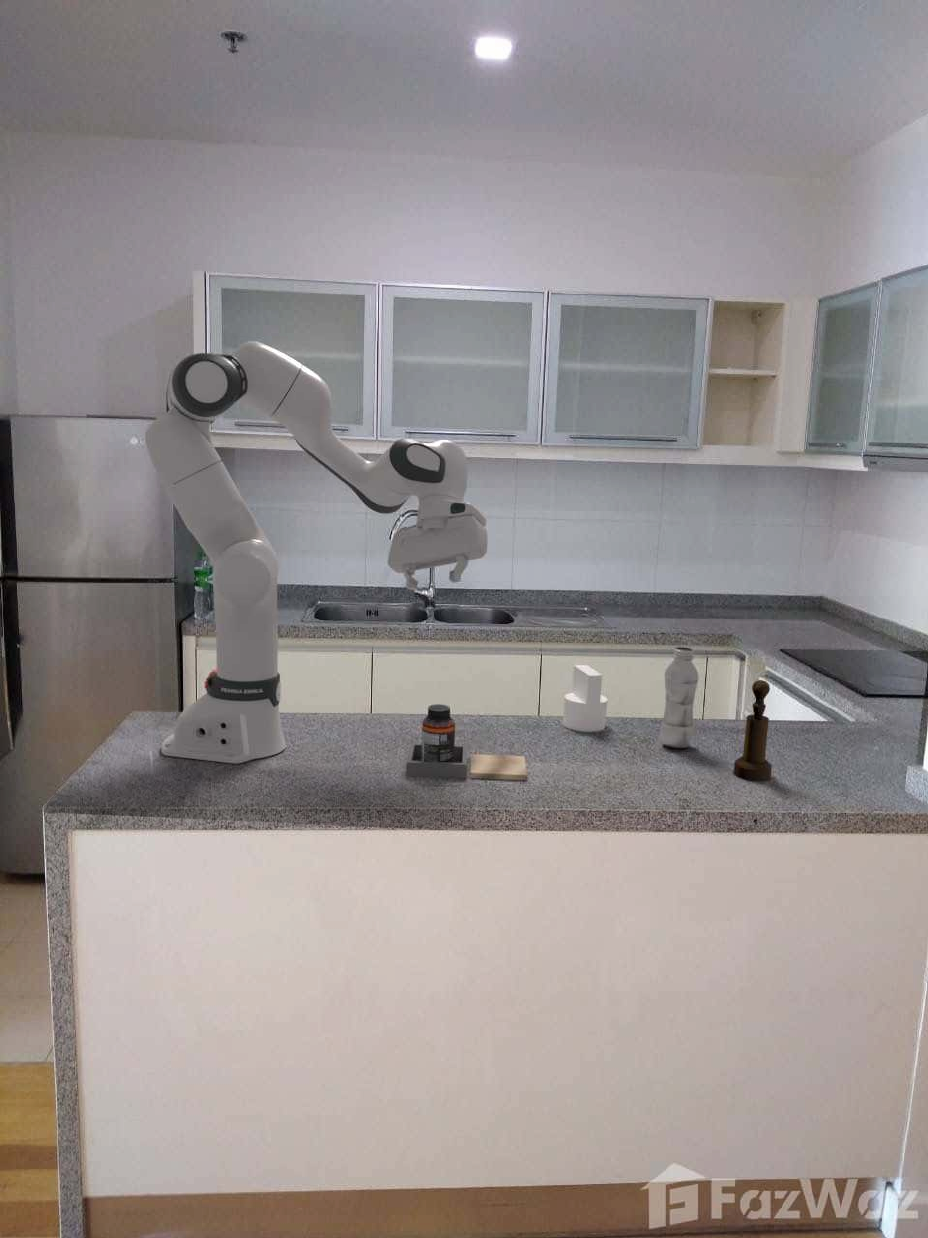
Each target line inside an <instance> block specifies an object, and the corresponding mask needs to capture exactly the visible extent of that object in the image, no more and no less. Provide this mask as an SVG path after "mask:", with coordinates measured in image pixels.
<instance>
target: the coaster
mask: <svg viewBox="0 0 928 1238" xmlns="http://www.w3.org/2000/svg"><path fill="white" fill-rule="evenodd" d="M469 761H470V765H469V766H470V769H469V773H470V774H469V775H470V777H469V778H470V779H482V780H483V779H484V780H508V781H528V773H527V763H526V760H525V756H524V755H523V756H521V755H503V754H502V755H501V754H499V755H498V754H479V753H471V754H470V760H469Z"/></svg>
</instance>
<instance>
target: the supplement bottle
mask: <svg viewBox="0 0 928 1238" xmlns="http://www.w3.org/2000/svg"><path fill="white" fill-rule="evenodd" d="M421 725H422V727H421V732H422V733H421V744H422V752H421V753H422V755H421V756H422V758H420V759H421V761H423V762H446V763H455V759H454V745H456V743H455V741H456V739H455V738H456V722H455V720H454V718H452V717H451V707H450V706H449V705H447V704H442V703H441V704H440V703H439V704H438V703H437V704H432V705H429V706H428V707H427V716H426V717H425V718H423V719H422V724H421Z"/></svg>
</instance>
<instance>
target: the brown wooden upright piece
mask: <svg viewBox="0 0 928 1238" xmlns="http://www.w3.org/2000/svg"><path fill="white" fill-rule="evenodd" d="M751 687H752V688H751V689H752V692H753V695H754V697H755V701H754V703H752V711H753V713H752V714H748V715H747V716H746V721H745V722H746V724H745V733H744V741H743V742H744V744H743V751H742V755H741V756H739V757H738V758H737V759H735V761H734V765H733V775H734V776H736V777H737V778H740V779H743V780H746V781H755V782H756V781H758V782H762V781H763V782H765V781H768V780H770V779H771V778H772V768H773V766H772V764H771V763H770V762H769V761H768V760H767V759H766V753H767V752H766V751H767V743H768V741H767V740H768V732H769V731H768V730H769V720H770V718H769V717H768V716H765V715H764V713H765V711H766V704H765V698H766V697H767V695H769V693H770V689H771V688H770V684H769V683H768V681H765V680H762V679H758V680H755V681H754V683H753V684H752V686H751Z"/></svg>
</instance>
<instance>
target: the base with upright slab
mask: <svg viewBox="0 0 928 1238" xmlns="http://www.w3.org/2000/svg"><path fill="white" fill-rule="evenodd" d="M602 680H603V674H601V673H600V672H598V671H597V670H595V669H594V668H592V667H590V666H589V665H587V664H584V665H583V664H577V665H576V664H575V665H573V678H572V691H571V692H569V693H567V694H565V695H564V703H563V719H562V725H563V726H564V727H565V728H567V729H570V730H574V731H578V732H587V733H588V732H590V733H591V732H599V731H600V732H601V731H603V730H605V729H606V723H607V722H606V721H607V708H608V698H607V697H606V696H604V695H602V683H603V681H602Z"/></svg>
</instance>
